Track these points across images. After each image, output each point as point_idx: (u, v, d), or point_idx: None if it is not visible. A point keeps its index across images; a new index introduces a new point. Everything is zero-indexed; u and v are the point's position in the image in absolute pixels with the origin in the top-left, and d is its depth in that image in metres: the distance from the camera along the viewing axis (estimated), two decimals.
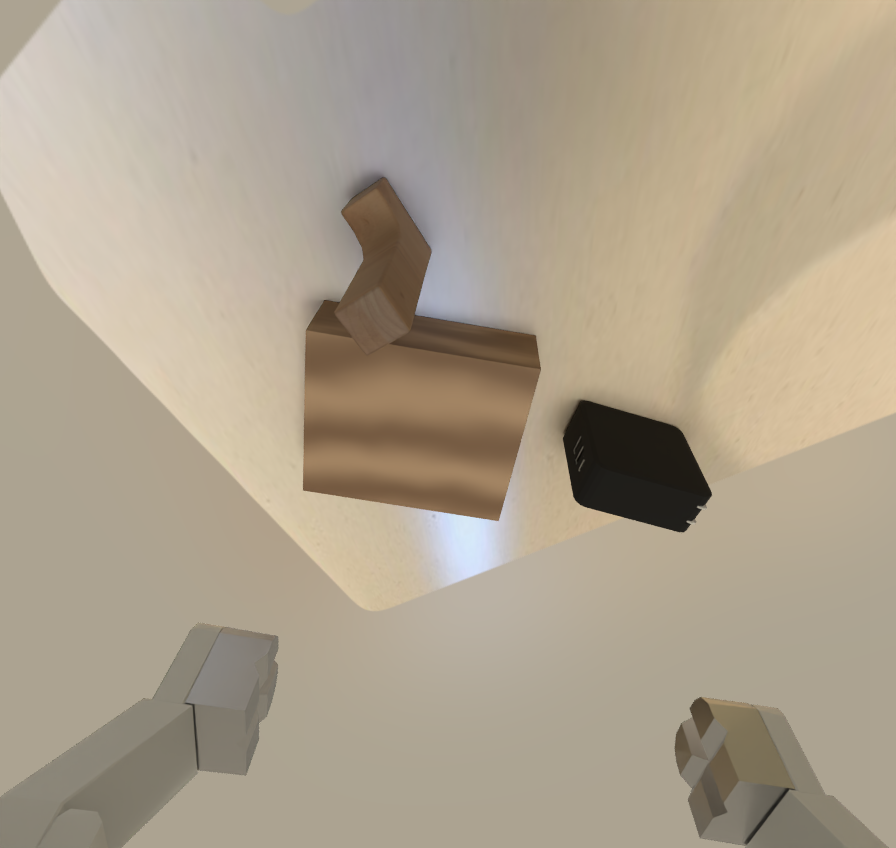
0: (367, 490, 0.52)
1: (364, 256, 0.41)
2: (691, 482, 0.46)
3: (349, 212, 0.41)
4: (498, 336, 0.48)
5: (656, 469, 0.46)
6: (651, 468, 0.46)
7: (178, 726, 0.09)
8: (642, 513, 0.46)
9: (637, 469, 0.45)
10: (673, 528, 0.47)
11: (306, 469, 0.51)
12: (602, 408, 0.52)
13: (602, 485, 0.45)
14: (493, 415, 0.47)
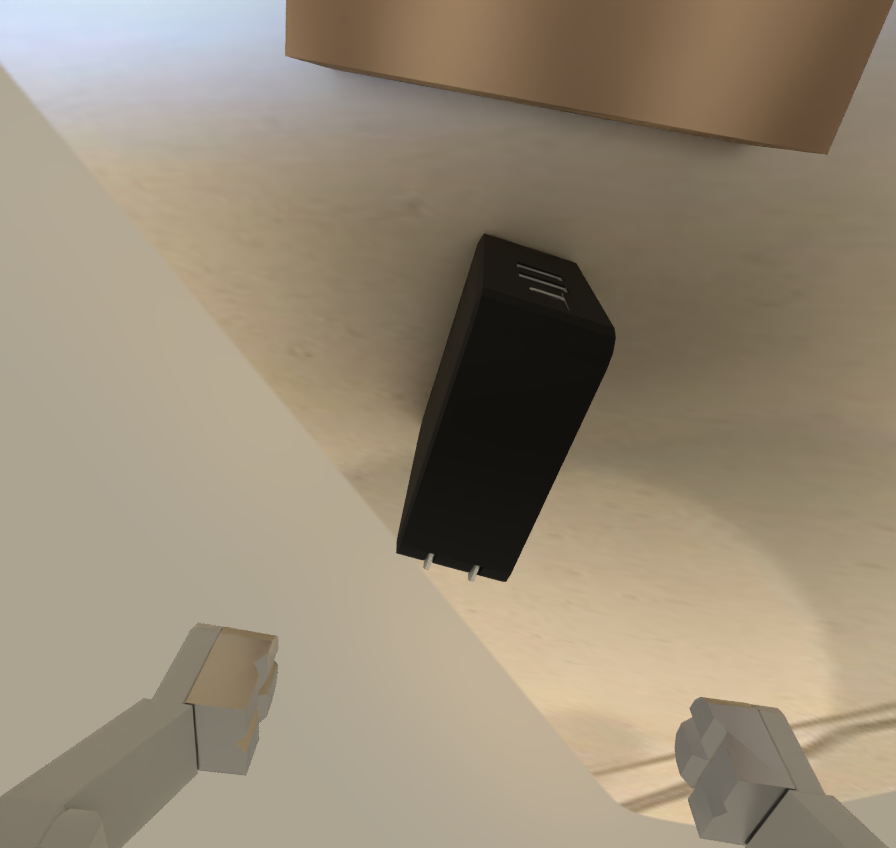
0: None
1: None
2: None
3: None
4: None
5: None
6: None
7: (178, 726, 0.09)
8: (455, 466, 0.18)
9: None
10: (410, 534, 0.20)
11: None
12: None
13: (552, 362, 0.16)
14: (699, 12, 0.16)
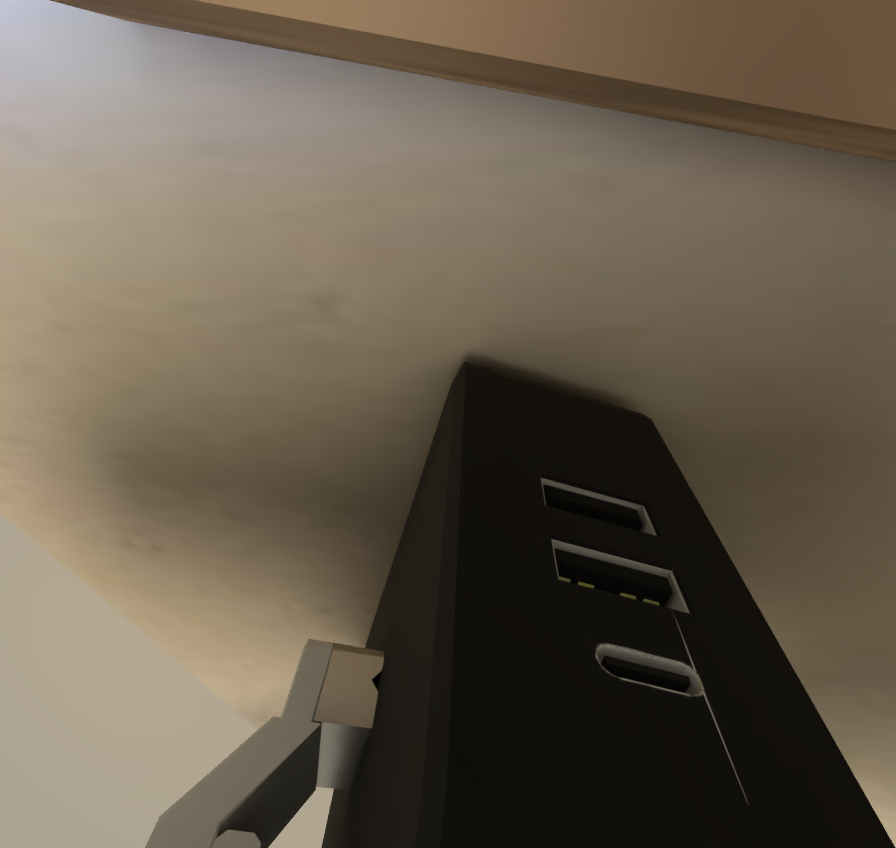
0: None
1: None
2: None
3: None
4: None
5: None
6: None
7: (308, 744, 0.09)
8: None
9: None
10: None
11: None
12: None
13: None
14: None
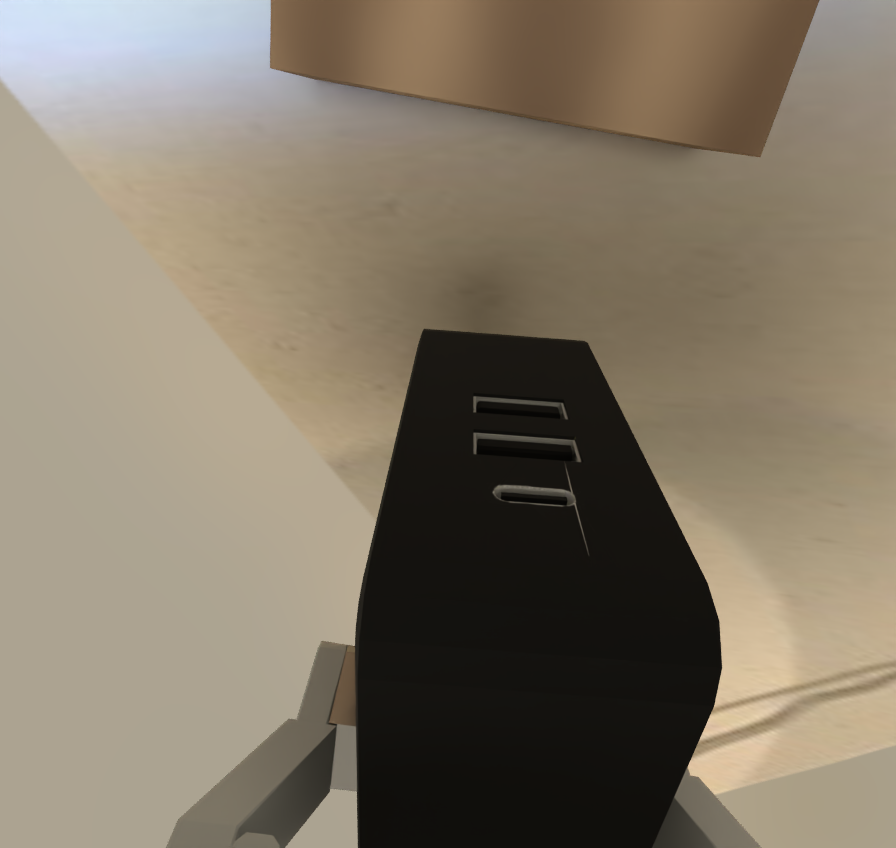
0: None
1: None
2: None
3: None
4: None
5: None
6: None
7: (324, 747, 0.09)
8: None
9: None
10: None
11: None
12: None
13: (573, 712, 0.07)
14: (643, 31, 0.17)
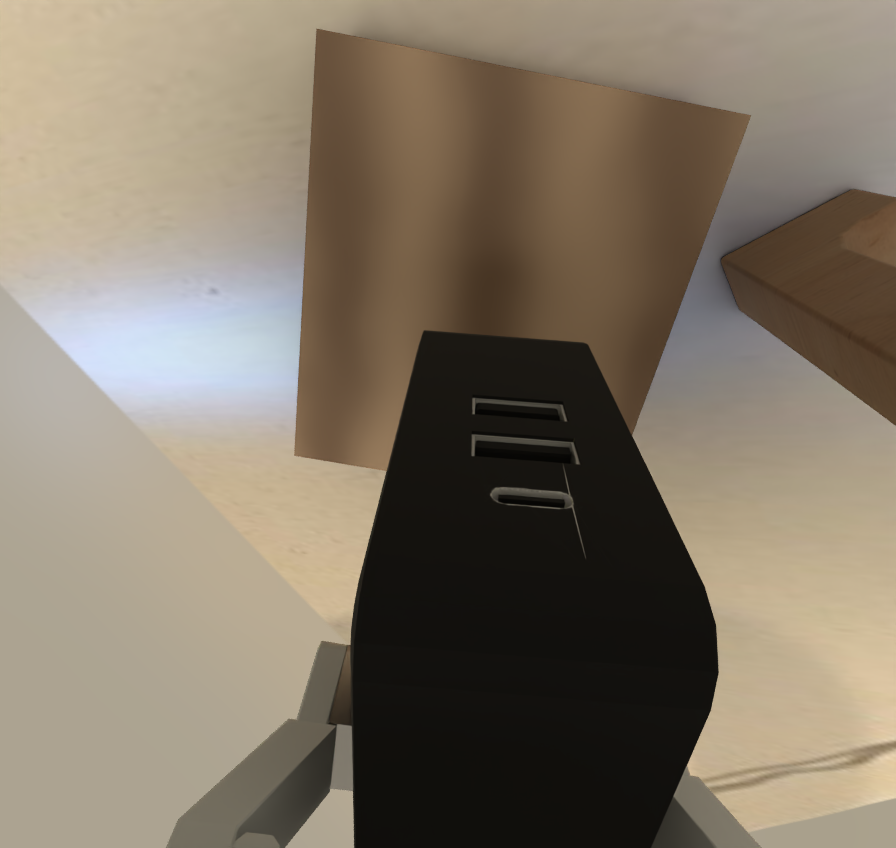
0: (336, 204, 0.23)
1: (846, 247, 0.24)
2: None
3: None
4: None
5: None
6: None
7: (324, 747, 0.09)
8: None
9: None
10: None
11: (385, 51, 0.21)
12: None
13: (569, 715, 0.07)
14: None
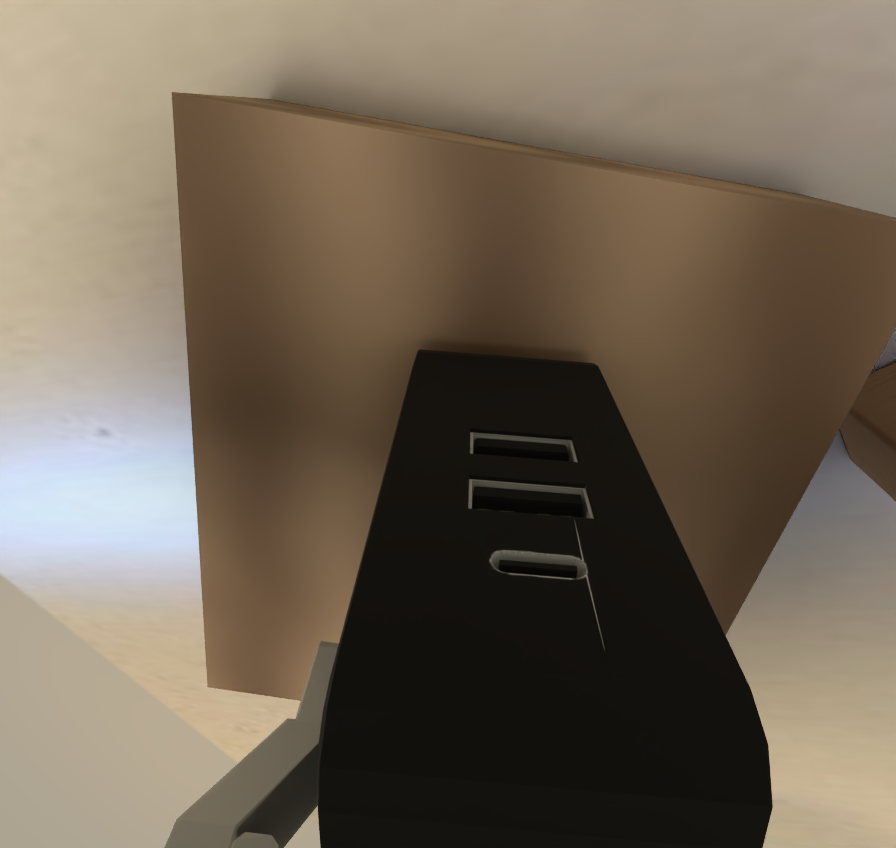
0: (234, 368, 0.14)
1: None
2: None
3: None
4: None
5: None
6: None
7: None
8: None
9: None
10: None
11: (297, 130, 0.12)
12: None
13: None
14: None
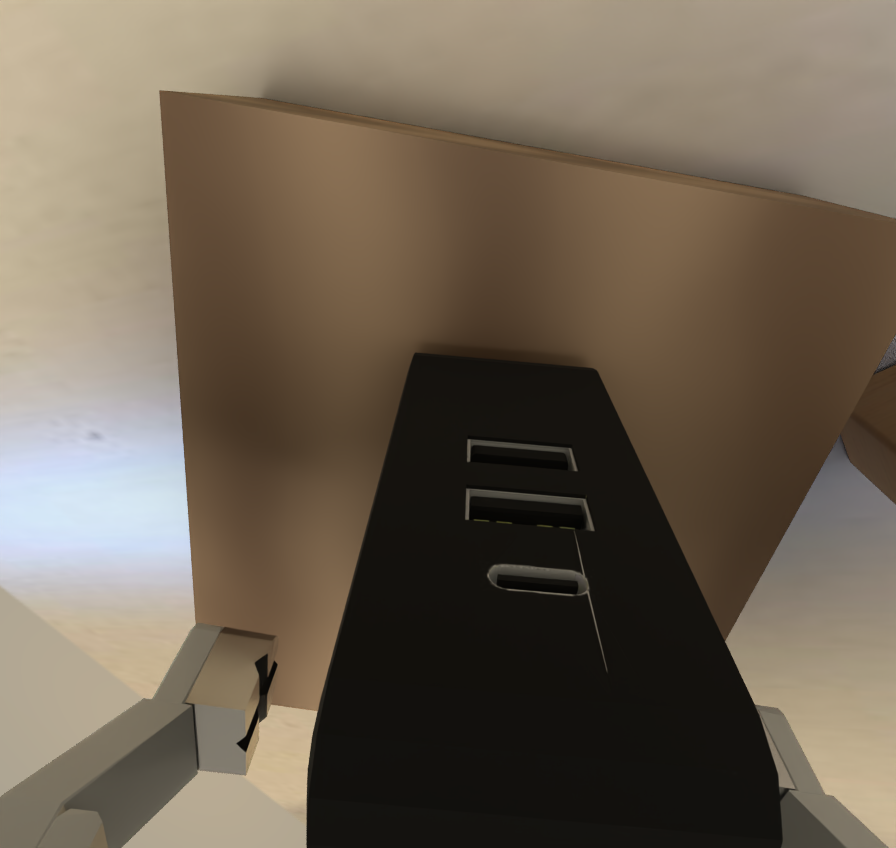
0: (226, 371, 0.14)
1: None
2: None
3: None
4: None
5: None
6: None
7: (178, 726, 0.09)
8: None
9: None
10: None
11: (288, 129, 0.11)
12: None
13: None
14: None
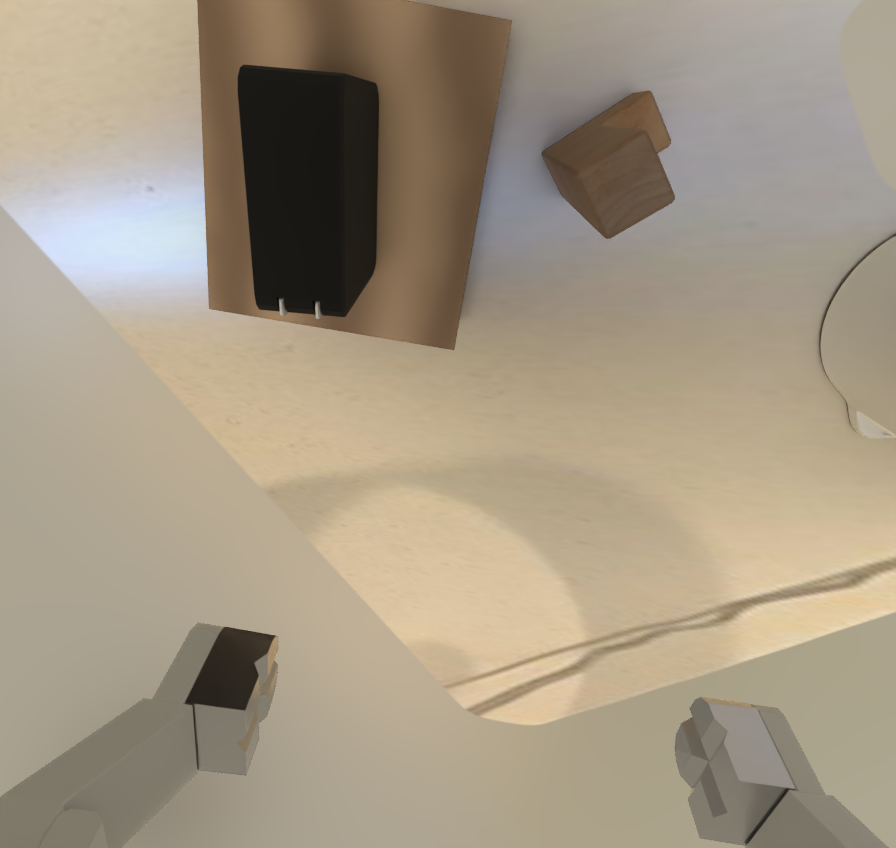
0: (222, 96, 0.32)
1: (604, 126, 0.32)
2: (349, 280, 0.27)
3: (648, 103, 0.33)
4: None
5: (351, 214, 0.26)
6: (350, 204, 0.26)
7: (178, 726, 0.09)
8: (267, 213, 0.25)
9: (347, 172, 0.25)
10: (258, 283, 0.26)
11: None
12: (377, 128, 0.31)
13: (300, 104, 0.23)
14: (385, 297, 0.36)
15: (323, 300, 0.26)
